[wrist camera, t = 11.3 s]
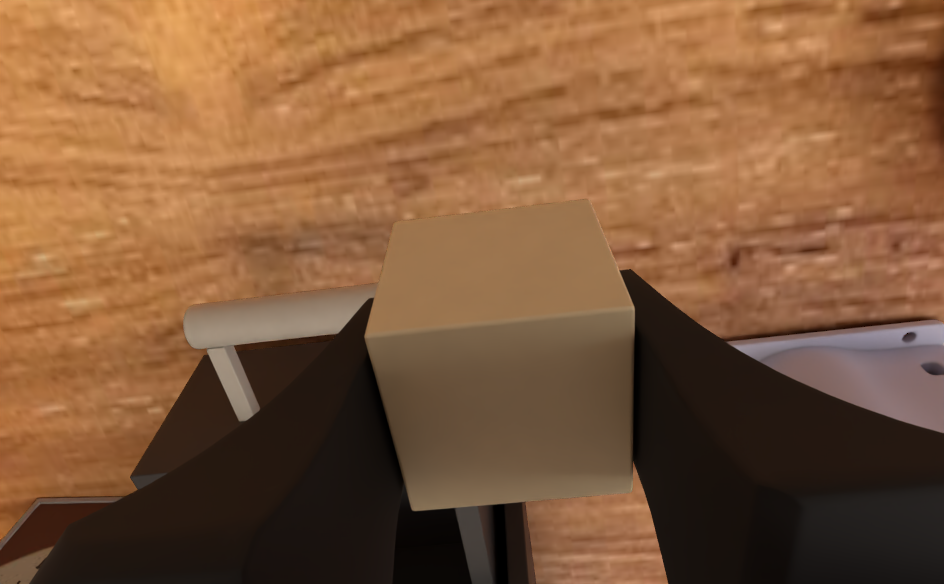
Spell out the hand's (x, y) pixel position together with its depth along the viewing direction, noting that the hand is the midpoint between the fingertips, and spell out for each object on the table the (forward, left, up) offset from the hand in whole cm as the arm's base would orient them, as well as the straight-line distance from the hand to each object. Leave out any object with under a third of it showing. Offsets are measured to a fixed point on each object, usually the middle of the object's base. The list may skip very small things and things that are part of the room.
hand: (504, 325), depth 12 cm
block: (0, 0, -1) cm, 1 cm away
